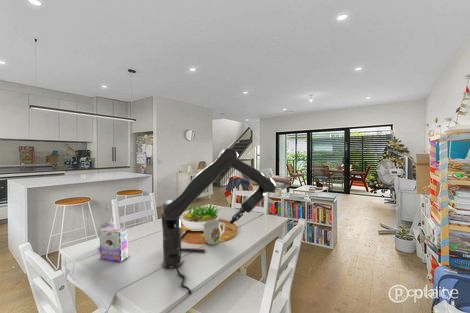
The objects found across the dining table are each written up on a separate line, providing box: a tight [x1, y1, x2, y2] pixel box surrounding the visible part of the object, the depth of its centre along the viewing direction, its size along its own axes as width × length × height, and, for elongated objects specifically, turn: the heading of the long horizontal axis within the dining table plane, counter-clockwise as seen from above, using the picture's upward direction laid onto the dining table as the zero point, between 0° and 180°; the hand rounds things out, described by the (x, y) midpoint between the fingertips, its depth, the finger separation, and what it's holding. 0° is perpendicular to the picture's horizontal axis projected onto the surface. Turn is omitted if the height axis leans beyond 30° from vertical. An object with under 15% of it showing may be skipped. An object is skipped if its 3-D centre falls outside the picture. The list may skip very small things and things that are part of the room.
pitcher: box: [200, 219, 226, 246], centre depth 141 cm, size 11×18×14 cm, turn 129°
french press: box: [97, 206, 116, 237], centre depth 134 cm, size 10×12×25 cm
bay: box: [181, 228, 206, 253], centre depth 143 cm, size 22×29×2 cm
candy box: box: [98, 226, 129, 263], centre depth 121 cm, size 14×6×16 cm, turn 74°
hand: (231, 220), depth 138 cm, fingers open, 7 cm apart
